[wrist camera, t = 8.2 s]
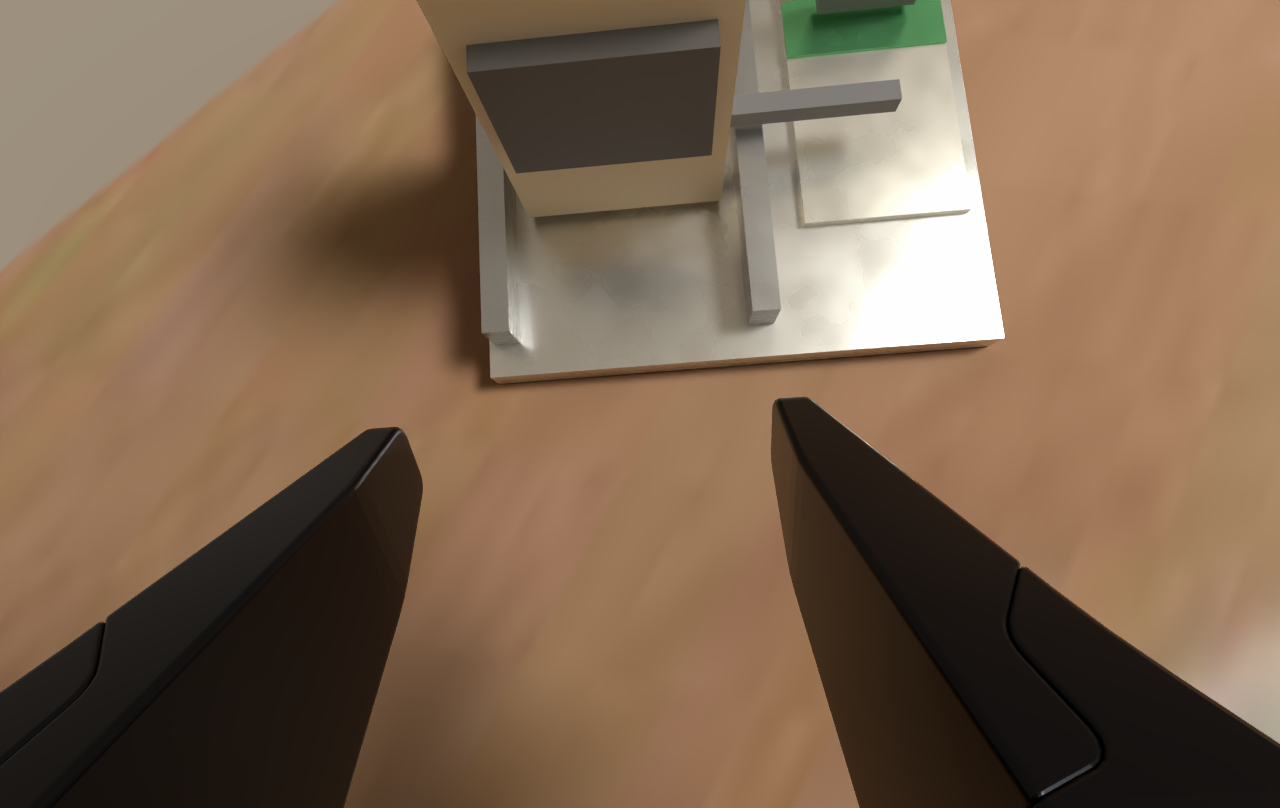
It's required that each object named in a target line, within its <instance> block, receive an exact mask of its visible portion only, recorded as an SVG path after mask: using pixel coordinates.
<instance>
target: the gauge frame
mask: <svg viewBox="0 0 1280 808" xmlns="http://www.w3.org/2000/svg"><path fill="white" fill-rule="evenodd" d="M895 79H899V80H900V87H901V94H902V100H901V102H900V104H899V106H898V108H897V109H896V111H895V112H885V113H875V114H864V115H854V116H843V117H833V118H822V119H812V120H801V121H791V122H780V123H770V124H759V125H749V126H738V127H730V132H729V140H728V148H727V156H726V164H725V172H724V180H723V188H722V196H721V201H710V202H699V203H687V204H676V205H665V206H654V207H643V208H632V209H621V210H609V211H598V212H587V213H576V214H565V215H554V216H543V217H531V218H529V216H528V214H527V212H526V210H525V208H524V206H523V204H522V202H521V201H520V199H519V197H518V195H517V193H516V191H515V189H514V187H513V185H512V183H511V181H510V179H509V177H508V175H507V173H506V172H505V170H504V168H503V166H502V164H501V162H500V160H499V158H498V156H497V154H496V152H495V150H494V148H493V146H492V145H491V143H490V141H489V139H488V137H487V135H486V133H485V131H484V129H483V127H482V125H481V123H480V121H479V119H478V117H477V116H476V147H477V183H478V220H479V256H480V293H481V329H482V334H483V335H484V336H485V337H487V338H488V339H489V346H490V378H491V379H493V380H494V381H496V382H497V383H499V384H505V383H518V382H531V381H543V380H556V379H569V378H582V377H595V376H608V375H621V374H634V373H647V372H660V371H673V370H686V369H699V368H712V367H725V366H738V365H751V364H764V363H777V362H790V361H802V360H815V359H828V358H841V357H854V356H867V355H880V354H893V353H906V352H919V351H932V350H945V349H958V348H971V347H984V346H990V345H992V344H994V343H996V342H998V341H999V340H1001V339H1003V338H1004V333H1003V326H1002V320H1001V314H1000V308H999V301H998V295H997V289H996V283H995V276H994V270H993V264H992V257H991V251H990V245H989V239H988V232H987V226H986V220H985V214H984V207H983V201H982V195H981V189H980V182H979V176H978V170H977V164H976V157H975V151H974V145H973V138H972V132H971V126H970V120H969V113H968V107H967V101H966V95H965V88H964V82H963V76H962V70H961V63H960V57H959V51H958V45H957V38H956V32H955V26H954V19H953V13H952V7H951V1H950V0H916V1H915V3H914V5H904V6H894V7H885V8H875V9H865V10H855V11H846V12H836V13H826V14H817V9H816V1H815V0H746V3H745V11H744V19H743V27H742V35H741V43H740V51H739V59H738V67H737V76H736V84H735V92H734V95H742V94H752V93H762V92H773V91H783V90H793V89H803V88H813V87H824V86H834V85H844V84H854V83H865V82H875V81H885V80H895Z"/></svg>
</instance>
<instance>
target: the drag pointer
mask: <svg viewBox="0 0 1280 808" xmlns="http://www.w3.org/2000/svg"><path fill="white" fill-rule="evenodd" d="M815 1H816V9H817V14H826V13H836V12H846V11H855V10H865V9H875V8H885V7H894V6H904V5H914V3H915V1H916V0H815Z"/></svg>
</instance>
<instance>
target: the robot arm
mask: <svg viewBox="0 0 1280 808" xmlns="http://www.w3.org/2000/svg"><path fill="white" fill-rule="evenodd" d="M771 461H772V470H773V476H774V482H775V488H776V494H777V500H778V506H779V512H780V519H781V525H782V531H783V537H784V543H785V549H786V555H787V560H788V565H789V570H790V575H791V579H792V583H793V587H794V590H795V594H796V597H797V601H798V604H799V607H800V611H801V614H802V617H803V621H804V624H805V627H806V631H807V634H808V637H809V641H810V644H811V647H812V651H813V654H814V657H815V661H816V664H817V667H818V671H819V674H820V677H821V681H822V684H823V687H824V691H825V694H826V697H827V701H828V704H829V707H830V711H831V714H832V717H833V721H834V724H835V727H836V731H837V734H838V737H839V741H840V744H841V747H842V751H843V754H844V757H845V761H846V764H847V767H848V771H849V774H850V777H851V781H852V784H853V787H854V791H855V794H856V797H857V801H858V804H859V807H860V808H1280V744H1279V743H1278V742H1276V741H1275V740H1273V739H1272V738H1270V737H1269V736H1267V735H1265V734H1264V733H1262V732H1261V731H1259V730H1258V729H1256V728H1255V727H1253V726H1252V725H1250V724H1249V723H1247V722H1246V721H1244V720H1243V719H1241V718H1240V717H1238V716H1237V715H1235V714H1234V713H1232V712H1231V711H1229V710H1228V709H1226V708H1225V707H1223V706H1222V705H1220V704H1219V703H1217V702H1216V701H1214V700H1213V699H1211V698H1210V697H1208V696H1206V695H1205V694H1203V693H1202V692H1200V691H1199V690H1197V689H1196V688H1194V687H1193V686H1191V685H1190V684H1188V683H1187V682H1185V681H1184V680H1182V679H1181V678H1179V677H1178V676H1176V675H1175V674H1173V673H1172V672H1170V671H1169V670H1167V669H1166V668H1164V667H1163V666H1162V665H1160V664H1159V663H1157V662H1156V661H1154V660H1153V659H1151V658H1150V657H1148V656H1147V655H1146V654H1144V653H1143V652H1141V651H1140V650H1138V649H1137V648H1135V647H1134V646H1132V645H1131V644H1129V643H1128V642H1127V641H1125V640H1124V639H1122V638H1121V637H1119V636H1118V635H1116V634H1115V633H1113V632H1112V631H1111V630H1109V629H1108V628H1106V627H1105V626H1104V625H1102V624H1101V623H1100V622H1098V621H1097V620H1096V619H1094V618H1093V617H1092V616H1090V615H1089V614H1088V613H1086V612H1085V611H1084V610H1082V609H1081V608H1080V607H1078V606H1077V605H1076V604H1074V603H1073V602H1071V601H1070V600H1069V599H1067V598H1066V597H1065V596H1063V595H1062V594H1061V593H1059V592H1058V591H1057V590H1055V589H1054V588H1053V587H1052V586H1050V585H1049V584H1048V583H1046V582H1045V581H1044V580H1043V579H1041V578H1040V577H1039V576H1037V575H1036V574H1035V573H1034V572H1032V571H1031V570H1030V569H1029V568H1027V567H1021V568H1020V563H1019V561H1018V560H1017V559H1015V558H1014V557H1013V556H1011V555H1010V554H1009V553H1008V552H1006V551H1005V550H1004V549H1002V548H1001V547H1000V546H999V545H997V544H996V543H995V542H993V541H992V540H991V539H990V538H988V537H987V536H986V535H984V534H983V533H982V532H981V531H979V530H978V529H977V528H975V527H974V526H973V525H972V524H970V523H969V522H968V521H967V520H965V519H964V518H963V517H961V516H960V515H959V514H958V513H956V512H955V511H954V510H952V509H951V508H950V507H949V506H947V505H946V504H945V503H943V502H942V501H941V500H940V499H938V498H937V497H936V496H934V495H933V494H932V493H931V492H929V491H928V490H927V489H925V488H924V487H923V486H922V485H920V484H919V483H918V482H916V481H915V480H914V479H913V478H911V477H910V476H909V475H908V474H906V473H905V472H904V471H902V470H901V469H900V468H899V467H897V466H896V465H895V464H893V463H892V462H891V461H890V460H888V459H887V458H886V457H884V456H883V455H882V454H881V453H879V452H878V451H877V450H875V449H874V448H873V447H872V446H870V445H869V444H868V443H866V442H865V441H864V440H863V439H861V438H860V437H859V436H858V435H856V434H855V433H854V432H852V431H851V430H850V429H849V428H847V427H846V426H845V425H843V424H842V423H841V422H840V421H838V420H837V419H836V418H834V417H833V416H832V415H831V414H829V413H828V412H827V411H825V410H824V409H823V408H822V407H820V406H819V405H818V404H816V403H815V402H814V401H813V400H811V399H810V398H808V397H793V398H780V399H777V400H775V402H774V404H773V409H772V438H771ZM422 493H423V483H422V477H421V474H420V471H419V468H418V465H417V463H416V460H415V457H414V455H413V452H412V449H411V447H410V444H409V441H408V439H407V436H406V434H405V433H404V432H403V430H402V429H400V428H398V427H388V428H374V429H368V430H366V431H364V432H363V433H361V434H360V435H359V436H357V437H356V438H355V439H353V440H352V441H350V442H349V443H348V444H346V445H345V446H343V447H342V448H341V449H339V450H338V451H337V452H335V453H334V454H332V455H331V456H330V457H328V458H327V459H325V460H324V461H323V462H321V463H320V464H318V465H317V466H316V467H314V468H313V469H312V470H310V471H309V472H307V473H306V474H305V475H303V476H302V477H300V478H299V479H298V480H296V481H295V482H293V483H292V484H291V485H289V486H288V487H287V488H285V489H284V490H282V491H281V492H280V493H278V494H277V495H275V496H274V497H273V498H271V499H270V500H269V501H267V502H266V503H264V504H263V505H262V506H260V507H259V508H257V509H256V510H255V511H253V512H252V513H250V514H249V515H248V516H246V517H245V518H244V519H242V520H241V521H239V522H238V523H237V524H235V525H234V526H232V527H231V528H230V529H228V530H227V531H225V532H224V533H223V534H221V535H220V536H219V537H217V538H216V539H214V540H213V541H212V542H210V543H209V544H207V545H206V546H205V547H203V548H202V549H201V550H199V551H198V552H196V553H195V554H194V555H192V556H191V557H189V558H188V559H187V560H185V561H184V562H182V563H181V564H180V565H178V566H177V567H176V568H174V569H173V570H171V571H170V572H169V573H167V574H166V575H164V576H163V577H162V578H160V579H159V580H157V581H156V582H155V583H153V584H152V585H151V586H149V587H148V588H146V589H145V590H144V591H142V592H141V593H139V594H138V595H137V596H135V597H134V598H133V599H131V600H130V601H128V602H127V603H126V604H124V605H123V606H121V607H120V608H119V609H117V610H116V611H114V612H113V613H112V614H110V615H109V616H108V617H107V618H106V622H105V623H104V622H100V623H98V624H96V625H95V626H93V627H92V628H91V629H89V630H88V631H86V632H85V633H84V634H82V635H81V636H80V637H78V638H77V639H75V640H74V641H73V642H71V643H70V644H69V645H67V646H66V647H65V648H63V649H62V650H60V651H59V652H57V653H56V654H55V655H53V656H52V657H50V658H49V659H47V660H46V661H45V662H43V663H42V664H40V665H39V666H37V667H36V668H35V669H33V670H32V671H30V672H29V673H27V674H26V675H25V676H23V677H22V678H20V679H19V680H17V681H16V682H15V683H13V684H12V685H10V686H9V687H7V688H6V689H5V690H3V691H2V692H0V808H344V804H345V801H346V797H347V794H348V791H349V787H350V784H351V780H352V777H353V773H354V770H355V767H356V763H357V760H358V756H359V753H360V750H361V746H362V743H363V739H364V736H365V733H366V729H367V726H368V722H369V719H370V716H371V712H372V709H373V705H374V702H375V698H376V695H377V692H378V688H379V685H380V681H381V678H382V675H383V671H384V668H385V664H386V661H387V658H388V654H389V651H390V647H391V644H392V640H393V637H394V634H395V630H396V627H397V623H398V620H399V617H400V613H401V609H402V605H403V601H404V598H405V592H406V587H407V582H408V577H409V571H410V565H411V559H412V553H413V547H414V541H415V535H416V529H417V523H418V517H419V511H420V506H421V500H422ZM1019 568H1020V569H1019Z"/></svg>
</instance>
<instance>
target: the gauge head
mask: <svg viewBox="0 0 1280 808" xmlns="http://www.w3.org/2000/svg"><path fill="white" fill-rule="evenodd" d="M417 2H418V3H419V5H420V7H421V9H422V11H423V13H424V15H425V17H426V19H427V21H428V23H429V25H430V27H431V29H432V31H433V32H434V34H435V36H436V38H437V40H438V42H439V44H440V46H441V48H442V50H443V52H444V54H445V56H446V58H447V60H448V61H449V63H450V65H451V67H452V69H453V71H454V73H455V75H456V77H457V79H458V81H459V83H460V85H461V87H462V88H463V90H464V92H465V94H466V96H467V98H468V100H469V102H470V104H471V106H472V108H473V110H474V112H475V114H476V116H477V117H478V119H479V121H480V123H481V125H482V127H483V129H484V131H485V133H486V135H487V137H488V139H489V141H490V143H491V145H492V146H493V148H494V150H495V152H496V154H497V156H498V158H499V160H500V162H501V164H502V166H503V168H504V170H505V172H506V173H507V175H508V177H509V179H510V181H511V183H512V185H513V187H514V189H515V191H516V193H517V195H518V197H519V199H520V201H521V202H522V204H523V206H524V208H525V210H526V212H527V214H528V216H529V218H531V217H543V216H554V215H565V214H576V213H587V212H598V211H609V210H621V209H632V208H643V207H654V206H665V205H676V204H687V203H699V202H710V201H721V196H722V188H723V180H724V172H725V164H726V156H727V148H728V140H729V132H730V127H738V126H749V125H759V124H770V123H780V122H791V121H801V120H812V119H822V118H833V117H843V116H854V115H864V114H875V113H885V112H895V111H896V109H897V108H898V106H899V104H900V102H901V100H902V94H901V87H900V80H899V79H895V80H885V81H875V82H865V83H854V84H844V85H834V86H824V87H813V88H803V89H793V90H783V91H773V92H762V93H752V94H742V95H734V92H735V84H736V76H737V67H738V59H739V51H740V43H741V35H742V27H743V19H744V11H745V3H746V0H417Z"/></svg>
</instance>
